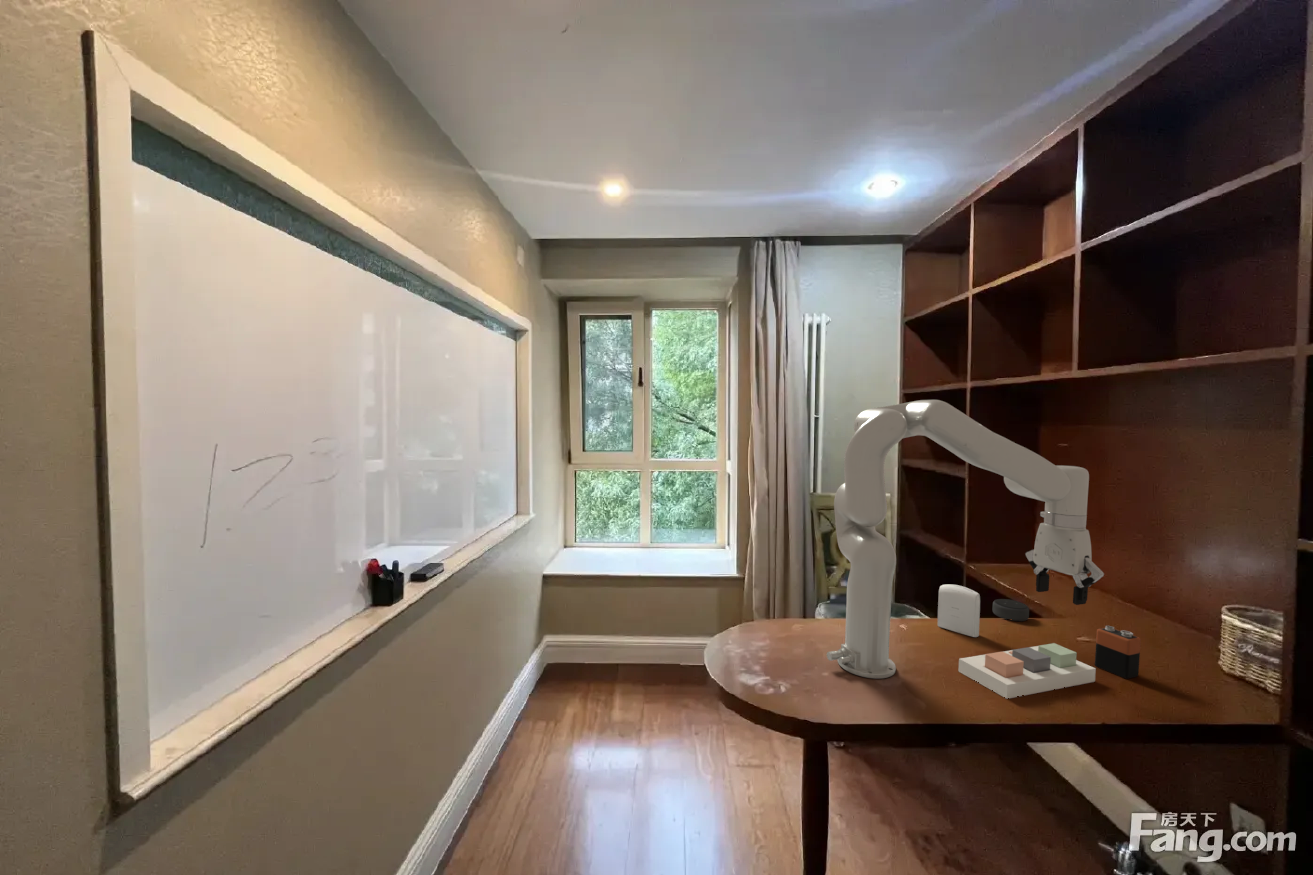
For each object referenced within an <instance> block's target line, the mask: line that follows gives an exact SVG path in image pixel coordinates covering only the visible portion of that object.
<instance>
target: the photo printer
mask: <svg viewBox="0 0 1313 875" xmlns="http://www.w3.org/2000/svg"><path fill="white" fill-rule="evenodd" d="M937 605H938V606H937V626H938V628H941V629H946V630H949V631H950V632H951V631H952V632H954V633H958V634H962V635H965V636H968V637H972V638H977V637H979V636H980V618H981V617H980V616H981V614H980V613H981V596H980V593H978V592H977V591H975V590H973V589H971V588H968V587H966V586H964V585H963V586H962V585H958V584H942V585H940V586H939V589H938V602H937Z"/></svg>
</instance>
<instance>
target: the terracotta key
mask: <svg viewBox="0 0 1313 875" xmlns="http://www.w3.org/2000/svg"><path fill="white" fill-rule="evenodd" d="M984 655H985V668H987V669H989V670H991V671H993V672H995V673H997V674H999V675H1001V676H1002V677H1004V678H1010V677H1016V676H1021V675H1023V666H1024V662H1023V661H1021V660H1019V659H1017V658H1015V657H1013V656H1011V655H1009V654H1007V653H1005V652H1004V650H1003V651H997V652H990V653H985V654H984Z"/></svg>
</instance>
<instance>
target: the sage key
mask: <svg viewBox="0 0 1313 875" xmlns="http://www.w3.org/2000/svg"><path fill="white" fill-rule="evenodd" d="M1037 646H1038V652H1041V653H1043V654H1045V655H1047V656H1050V657H1051V661H1050V664H1052V665H1054V666H1056V667H1058V668H1065V667H1071V666H1076V660H1077V657H1078V656H1077V652H1076V651H1074V650H1071V649H1069V648H1066V647H1064V646H1062V645H1060V644H1057V643H1055V642H1052V643H1048V644H1041V645H1037Z"/></svg>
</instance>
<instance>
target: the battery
mask: <svg viewBox="0 0 1313 875" xmlns="http://www.w3.org/2000/svg"><path fill="white" fill-rule="evenodd" d="M1095 638H1096V639H1095V640H1096V641H1095V652H1094V654H1095V657H1094V666H1095V667H1097V668H1099V669H1101V670H1104V671H1106V672H1109V673H1111V674H1113V675H1115V676H1118V677H1121V678H1122V679H1126V680H1129V679H1132V678H1136V677H1139V671H1140V659H1141V658H1140V656H1141V655H1140V654H1141V644H1142V643H1141V642H1142V639H1141V638H1140V637H1139V636H1136V635H1134V633H1133V632H1131V631H1128V630H1125V629H1124V630H1123V629H1122V630H1119V629H1115V626H1113V625H1112V626H1110V625H1105V627H1102V628H1098V629H1096V637H1095Z"/></svg>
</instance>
